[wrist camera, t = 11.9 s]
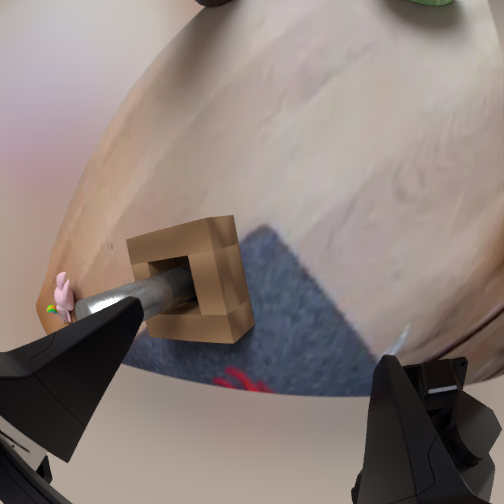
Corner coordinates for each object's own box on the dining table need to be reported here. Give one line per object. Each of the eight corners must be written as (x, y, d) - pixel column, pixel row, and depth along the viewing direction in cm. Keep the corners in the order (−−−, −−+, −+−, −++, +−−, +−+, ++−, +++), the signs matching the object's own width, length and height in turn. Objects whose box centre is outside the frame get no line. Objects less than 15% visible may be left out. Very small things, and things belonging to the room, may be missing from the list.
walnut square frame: (255, 324, 24) (233, 343, 21) (175, 323, 29) (150, 336, 25) (233, 215, 24) (206, 217, 20) (154, 234, 28) (126, 239, 25)
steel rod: (215, 290, 26) (104, 346, 14) (191, 292, 27) (84, 341, 15) (208, 259, 25) (90, 300, 14) (184, 263, 27) (71, 300, 15)
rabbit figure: (79, 327, 44) (84, 288, 36) (55, 339, 39) (52, 302, 31) (65, 301, 45) (68, 257, 37) (42, 311, 40) (37, 268, 32)
